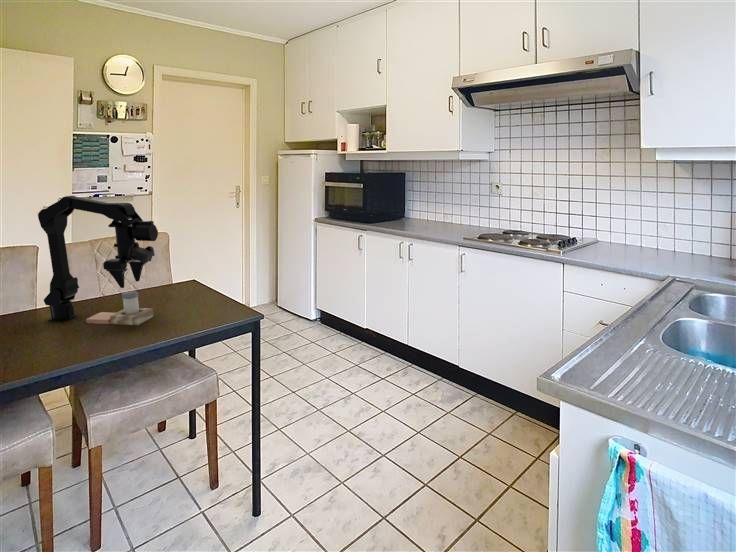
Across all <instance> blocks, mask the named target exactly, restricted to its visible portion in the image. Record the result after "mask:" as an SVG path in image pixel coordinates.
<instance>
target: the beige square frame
mask: <svg viewBox="0 0 736 552" xmlns="http://www.w3.org/2000/svg"><path fill="white" fill-rule="evenodd" d="M139 312H140V313H138V314H136V315H125V313H124V308H123V309H121V310H119V311H117V312H114V313H115V314H113V315H111V316H110V320H111V323H110V325H121V326H139V325H142V323H145V322H147V321H148V320H150V319H152V318H153V317H154V308H149V307H148V308H145V307H139Z"/></svg>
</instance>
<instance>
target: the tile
mask: <svg viewBox="0 0 736 552" xmlns="http://www.w3.org/2000/svg"><path fill="white" fill-rule="evenodd" d="M115 313H116V312H108V311H107V312H105V311H101V312H97V313H96V314H94V315H92V316H90V317H88V318H86V319H85V321H86V324H98V325H101V324H102V325H109V324H111V320H110V316H111V315H113V314H115Z"/></svg>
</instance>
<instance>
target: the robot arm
mask: <svg viewBox="0 0 736 552" xmlns="http://www.w3.org/2000/svg"><path fill="white" fill-rule="evenodd" d="M75 210H78V211H83V212H88V213H94V214H99V215H102V216H105V217H106V218H108V219H110V220H112V221H111V222H110V224H108V227H109V228H114V230H115V241H116V243H113V248H117V249H116V251H117V254H116V255H115V256H114V257H115V258H110V259H107V260H105V261H104V262H103V263H102V267H103V270H105V271H106V272H108V273H109V274H110V275H111V276H112V278H113V279H114V280H115V282H116V283H117V285H118V286H119V288H120V289H124V288H125V273H126V272H127V270H128V268H127V267H128V264H129V267H130V269H131V272H132V275H133V278H134V280H135V282H139V281H140V279H141V276H142V271H143V268H144V266H145V265H146V264H147V263H148V262H151V261H152V259H153V257H154V256H155V250H154V247H153V246H151V245H148V246H146V247H140V243H139V241H140V242H141V241H142V242H156V241H157V239H158V236H159V233H158V232H159V231H158V229H157V226H156V225H155V224H154V220H149V221H148V220H144V219H142V218H141V216H140V215H139V214H138V212H137V211H136V209H135V207H134V205H133V204H132V203H130V202H106V201H99V200H94V199H89V198H84V197H79V196H76V195H65V196H63V197H61V198H60V199H59V200H58V201H56V202H54V203H52V204H51V205H49V206H48V207H46V208H42V209H40V210H39V212H38V214H37V218H38V223H39V224H40V227H41V229H42V230H43V231H44V232H45V234H46V236H47V241H48V249H49V255H50V256H49V257H50V261H51V262H50V263H51V268H52V274H53V275H52V278H51V280H50V283H49V293H48V294H47V295H46V296H45V298H44V299H43V302H44V304H45V306H49V311H50V318H48V320H47V321H48V322H63V323H64V322H67V321H69V320H71V319H73V318H76V317H77V314H75V309H74V305H73V302H72V301H73V300H75V298H76V297H75V296H76V294H77V293H78V291H79V288H80V286H79V284H78V283H79V281H78V277H76V276H75V277H74V276H73V275H72V274H71V272H70V267H69V260H68V252H67V246H66V239H65V232H66V229H67V227H68V217H69V216H70V215H72V213H73V212H74V211H75Z"/></svg>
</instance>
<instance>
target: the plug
mask: <svg viewBox="0 0 736 552" xmlns="http://www.w3.org/2000/svg"><path fill="white" fill-rule="evenodd" d="M121 299H122V302H123V309H124V313H125V315H136V314H138V313H140V312H139V308H140V305H139V292H138V291H135V290H132V291H131V290H130V291H124V292H122V293H121Z"/></svg>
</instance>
